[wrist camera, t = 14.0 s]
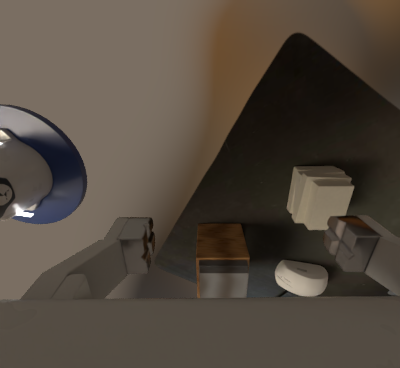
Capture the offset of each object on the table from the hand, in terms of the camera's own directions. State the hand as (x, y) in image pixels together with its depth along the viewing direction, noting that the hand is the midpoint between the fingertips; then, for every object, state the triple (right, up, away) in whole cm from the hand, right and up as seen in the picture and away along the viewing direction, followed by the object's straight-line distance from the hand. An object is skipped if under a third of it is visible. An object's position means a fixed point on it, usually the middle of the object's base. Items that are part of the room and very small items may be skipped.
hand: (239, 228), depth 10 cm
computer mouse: (+24, -21, +45) cm, 55 cm away
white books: (+22, +1, +35) cm, 41 cm away
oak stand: (+3, -13, +42) cm, 44 cm away
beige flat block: (+21, -1, +30) cm, 37 cm away
